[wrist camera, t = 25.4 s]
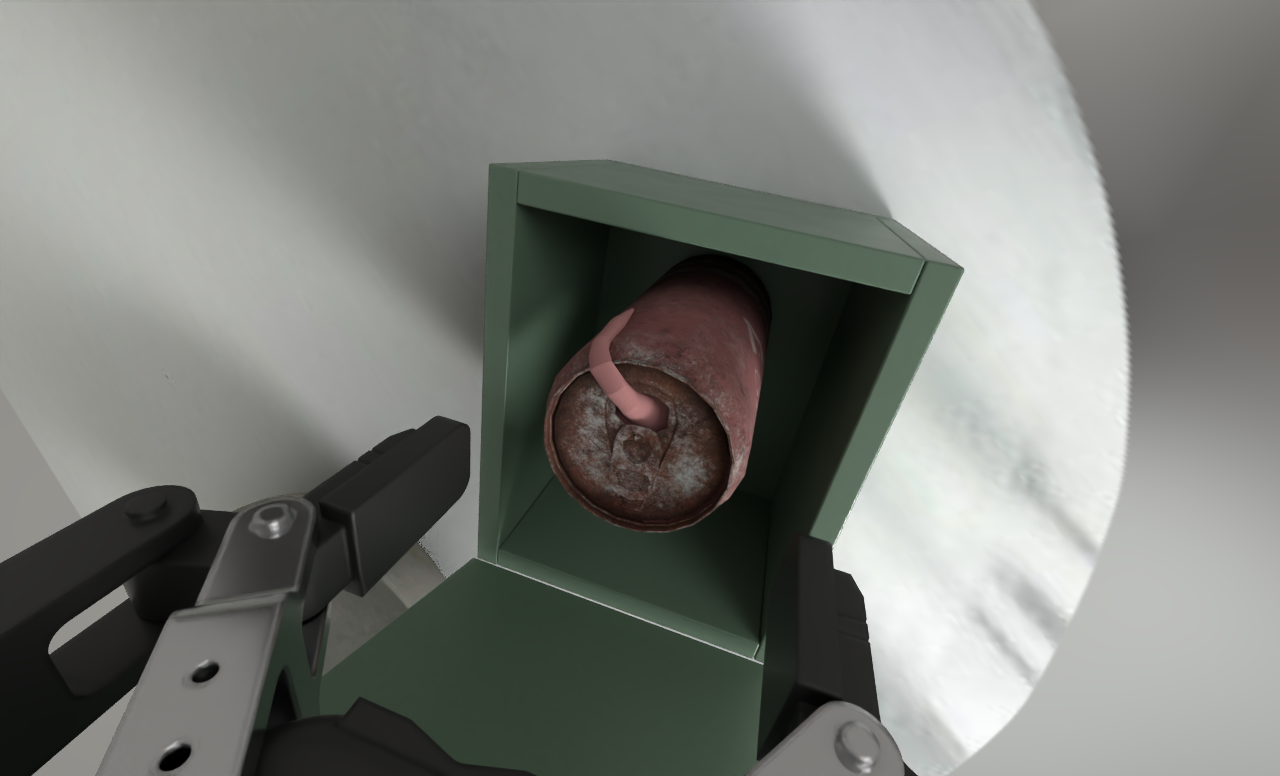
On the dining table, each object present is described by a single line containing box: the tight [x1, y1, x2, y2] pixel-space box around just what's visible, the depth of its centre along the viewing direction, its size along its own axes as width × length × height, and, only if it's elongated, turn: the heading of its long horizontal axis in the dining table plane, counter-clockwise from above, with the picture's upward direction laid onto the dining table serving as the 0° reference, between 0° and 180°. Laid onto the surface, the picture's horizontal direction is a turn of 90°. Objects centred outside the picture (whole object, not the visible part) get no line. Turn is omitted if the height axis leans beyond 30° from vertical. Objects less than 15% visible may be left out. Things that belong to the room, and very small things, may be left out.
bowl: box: [233, 493, 445, 676], centre depth 40 cm, size 21×21×8 cm
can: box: [544, 254, 772, 533], centre depth 20 cm, size 6×6×14 cm
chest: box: [478, 160, 964, 663], centre depth 23 cm, size 17×14×11 cm
